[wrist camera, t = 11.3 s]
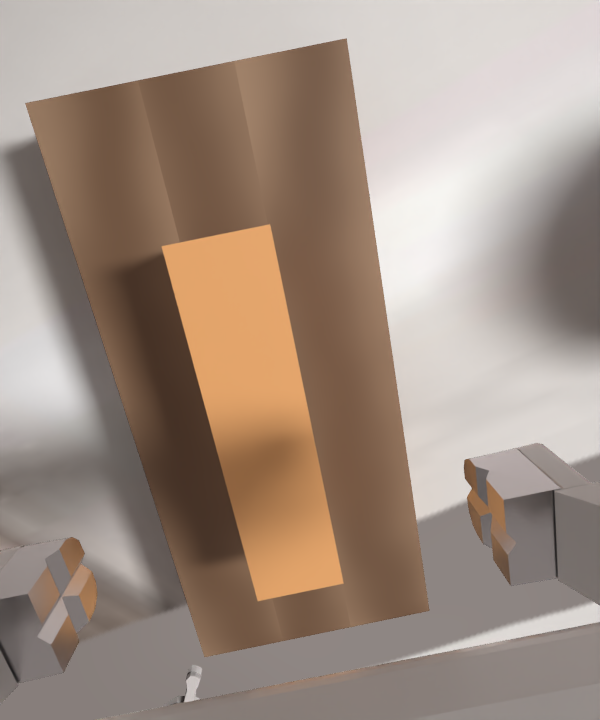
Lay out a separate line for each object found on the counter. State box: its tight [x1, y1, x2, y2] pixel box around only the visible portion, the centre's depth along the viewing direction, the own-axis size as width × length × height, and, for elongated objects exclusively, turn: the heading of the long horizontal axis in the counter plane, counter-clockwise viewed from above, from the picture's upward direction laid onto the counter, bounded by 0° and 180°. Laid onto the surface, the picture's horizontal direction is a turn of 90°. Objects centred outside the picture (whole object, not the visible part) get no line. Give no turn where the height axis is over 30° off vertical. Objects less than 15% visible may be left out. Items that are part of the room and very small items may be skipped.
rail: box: [25, 38, 429, 657], centre depth 18 cm, size 10×22×3 cm, turn 11°
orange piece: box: [162, 224, 344, 601], centre depth 17 cm, size 3×12×6 cm, turn 11°
